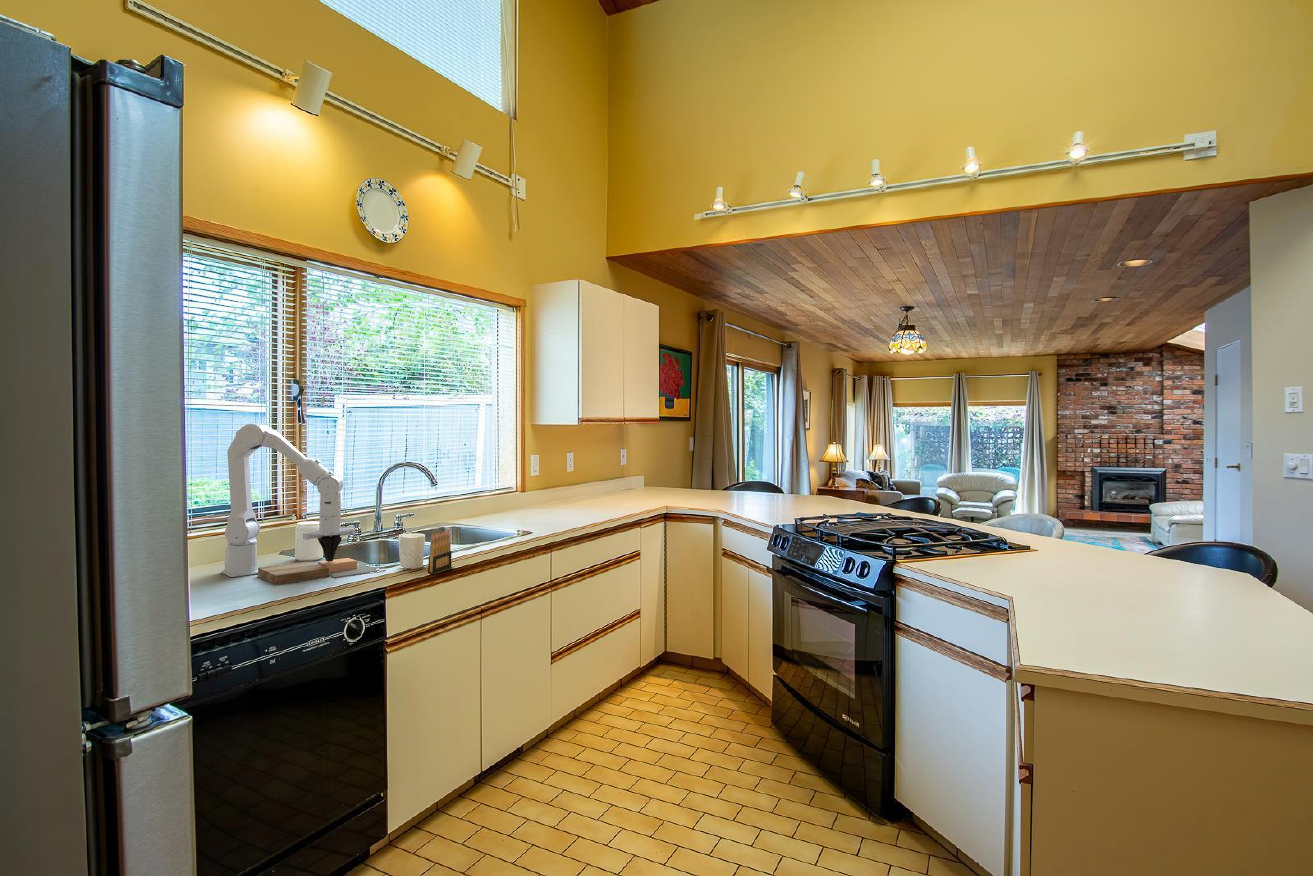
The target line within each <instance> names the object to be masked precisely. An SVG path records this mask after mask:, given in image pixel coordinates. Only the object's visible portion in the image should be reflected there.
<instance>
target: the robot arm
mask: <svg viewBox="0 0 1313 876" xmlns="http://www.w3.org/2000/svg"><path fill="white" fill-rule="evenodd" d="M262 447H265V448H268V449H269V448H270V449H275V450H276V451H277V452H279V453H280V454H281V455H283V457H284V458H286V459H288V460H289V461H290V462H292V463H293V464H294V465H296V466H297V472H298V473H299V474H300V475H301V476H303V478H305V479H306V480H307V481H308V482H310V483H311V484H312V486H315V487H316V490H317V492H318V493H319V495H320V496H319V498H320V499H319V530H318V531H311V532H304V533H303V539H305V540H309V539H314V538H318V541H319V543H320V544H321V546H322V549H323V556H324V558H325V559H324V560H325V561H328V562H330V561H333V560H335V555H336V552H337V549H338V547H339V545H340V543H342V536H343V537H344V536H355V535H356V528H354V527H346V528H345V527H343V528H341V524H342V523H341V522H342V521H341V520H342V517H341V515H342V512H341V511H342V499H341V497H342V495H341V494H342V493H341V491H342V489H344V481H343V479H342V478H341V477H340V476H339V475H336V474H334V472H333V471H332V470H328V469H327V468H326V467H325V466H323V465H322V464H321V462H322V461H321V460H320V459H318V458H317V459H315V458H313V457H306V456H305V455H304V454H302V453H301V452H300V450H298V449H297V448H296V447H295V445H294V446H293V444H291V443H290V442H289V441H288V440H287V439H286V438H285V437H284V436H282V435H281V434H280V433H279V432H278V431H277V430H275V429H273V428H272V427H271V426H270V425H268V424H264V423H260V424H255V423H247V424H245V425H243V426H242V427H241V428H240V429H238V430H237V431H235V436H234V438H233V440H232V441H231V443H230V445H229V447H228V448H227V466H228V484H229V496H230V513H229V516H228V517H227V520H226V521H227V524H226V528H225V530H224V537H225V539H226V541H227V546H226V547H225V551H224V569H222V570H221V571H220V573H222V574H224V575H225V576H227V577H230V578H233V577H234V578H235V577H243V576H249V575H256V574H257V575H258V568H257V560H258V559H257V557H258V555H257V553H258V540H257V538H256V537H257V536H258V535H259V534H260V532H261V526H260V523H259V522H258V521H257V514H256V512H255V511H254V509H253V502H252V500H253V499H252V485H251V484H252V483H251V469H250V468H251V467H250V456H251V455H252V454H253V453H255V451H257V450H258V449H259V448H262Z"/></svg>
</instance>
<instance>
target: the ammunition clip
mask: <svg viewBox="0 0 1313 876" xmlns="http://www.w3.org/2000/svg"><path fill="white" fill-rule="evenodd" d="M429 546H430V547H429V555H428V566H427V573H428V574H431V575H432V574H433V575H434V574H437V573H440V572H442V571H445V570H447V569H450V568H452V567H453V566H452V550H451V533H450V529H447V530H444V531H438V533H437V532H435V534H434V533H432V534H431V536H430V545H429Z"/></svg>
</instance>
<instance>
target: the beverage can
mask: <svg viewBox="0 0 1313 876" xmlns="http://www.w3.org/2000/svg"><path fill="white" fill-rule="evenodd" d="M294 530H295V534H294V536H295V537H294V539H295V540H294V541H295V542H294V543H295V544H294V558H295V559H296V560H297V561H299V562H307V561H310V562H314V561H318V560H320V559H322V558H323V557H324V551H323V549H322V546H321V544H320V543H319V541H318V538H314V539H309V540H305V539H303V533H304V532H311V531H318V530H319V521H317V520H312V521H311V520H309V521H299V522H297V523H296V525H295V529H294ZM295 559H294V560H295Z"/></svg>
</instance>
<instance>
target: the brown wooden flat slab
mask: <svg viewBox="0 0 1313 876" xmlns="http://www.w3.org/2000/svg"><path fill="white" fill-rule="evenodd" d="M257 570H258V574H257V577H259V578H260V579H263V580H265V581H268V582H269V583H271V584H273V585H276V586H277V585H283V584H289V583H297V582H304V581H311V580H316V579H322V578H324V579H325V578H329V577H330V576H329V568H327V567H324V566H321V565H318V563H315V562H314V561H299V562H294V563H286V564H285V563H284V564H279V565H278V564H277V565H276V564H275V565H269V566H261V567H257Z"/></svg>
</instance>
